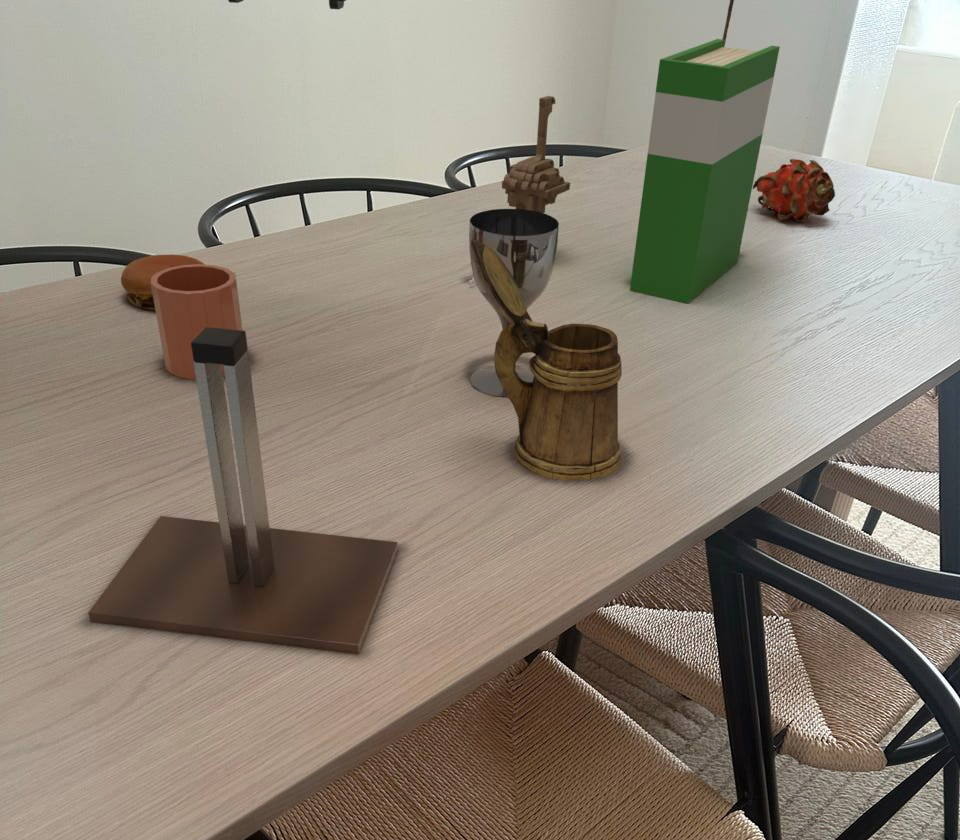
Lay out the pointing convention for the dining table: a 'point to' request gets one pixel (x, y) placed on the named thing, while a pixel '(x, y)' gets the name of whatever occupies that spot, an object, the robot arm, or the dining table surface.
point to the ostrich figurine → (535, 173)
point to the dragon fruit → (796, 190)
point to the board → (250, 587)
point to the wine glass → (515, 267)
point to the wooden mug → (555, 383)
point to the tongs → (233, 354)
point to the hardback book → (700, 167)
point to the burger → (149, 276)
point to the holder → (192, 310)
